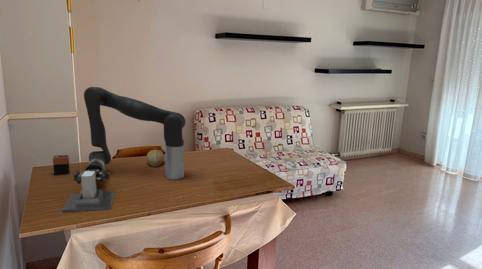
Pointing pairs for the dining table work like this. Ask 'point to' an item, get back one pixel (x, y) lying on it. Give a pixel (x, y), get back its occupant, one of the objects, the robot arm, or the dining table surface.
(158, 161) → the bread roll
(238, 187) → the dining table surface
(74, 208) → the grey box holder
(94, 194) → the skincare box
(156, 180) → the dining table surface
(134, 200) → the dining table surface
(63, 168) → the battery
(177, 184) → the dining table surface
